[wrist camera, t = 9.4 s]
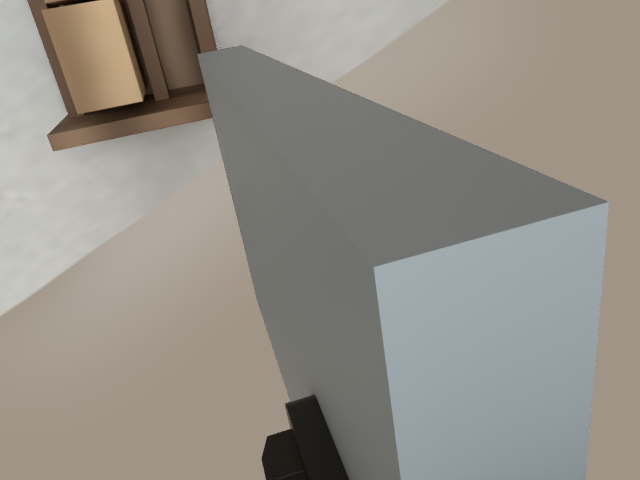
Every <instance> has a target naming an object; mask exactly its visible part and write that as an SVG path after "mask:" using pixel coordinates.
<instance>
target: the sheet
mask: <svg viewBox="0 0 640 480" xmlns="http://www.w3.org/2000/svg"><path fill="white" fill-rule="evenodd" d="M197 55H198V59H199V63H200V68H201V72H202V76H203V80H204V84H205V88H206V92H207V96H208V100H209V104H210V109H211V113H212V117H213V121H214V125H215V129H216V133H217V137H218V141H219V146H220V150H221V154H222V158H223V162H224V166H225V170H226V174H227V178H228V182H229V186H230V191H231V195H232V199H233V203H234V207H235V211H236V215H237V219H238V223H239V227H240V232H241V236H242V240H243V244H244V248H245V252H246V256H247V260H248V265H249V269H250V273H251V277H252V281H253V285H254V289H255V293H256V297H257V301H258V305H259V308H260V311H261V314H262V317H263V320H264V323H265V326H266V329H267V332H268V335H269V338H270V341H271V344H272V347H273V350H274V353H275V356H276V360H277V362H278V366H279V368H280V372H281V375H282V378H283V381H284V384H285V387H286V389H287V393H288V396H289V399H290V402H292V401H295V400H298V399H301V398H304V397H307V396H311V395H315V396H316V398H317V400H318V403H319V405H320V408H321V410H322V413H323V415H324V418H325V420H326V423H327V425H328V428H329V430H330V433H331V435H332V438H333V440H334V443H335V445H336V448H337V450H338V453H339V455H340V457H341V460H342V462H343V465H344V467H345V470H346V472H347V475H348V477H349V480H585V477H586V476H585V475H586V465H587V452H588V441H589V430H590V417H591V406H592V394H593V383H594V371H595V360H596V348H597V336H598V325H599V313H600V301H601V288H602V278H603V266H604V254H605V242H606V231H607V220H608V208H609V202H608V201H605V200H603V199H601V198H598V197H596V196H594V195H591V194H589V193H587V192H584V191H582V190H580V189H577V188H575V187H572V186H570V185H568V184H565V183H563V182H560V181H558V180H556V179H554V178H551V177H549V176H547V175H544V174H542V173H539V172H537V171H535V170H532V169H530V168H528V167H526V166H523V165H521V164H518V163H516V162H514V161H511V160H509V159H507V158H504V157H502V156H500V155H497V154H495V153H493V152H490V151H488V150H486V149H483V148H481V147H479V146H476V145H474V144H472V143H469V142H467V141H464V140H462V139H460V138H457V137H455V136H453V135H450V134H448V133H446V132H443V131H441V130H439V129H436V128H434V127H431V126H429V125H427V124H425V123H422V122H420V121H417V120H415V119H413V118H410V117H408V116H406V115H403V114H401V113H399V112H396V111H394V110H391V109H389V108H387V107H385V106H382V105H380V104H377V103H375V102H373V101H371V100H368V99H366V98H364V97H361V96H359V95H356V94H354V93H352V92H349V91H347V90H345V89H342V88H340V87H338V86H335V85H333V84H331V83H328V82H326V81H324V80H321V79H319V78H317V77H314V76H312V75H310V74H307V73H305V72H302V71H300V70H298V69H295V68H293V67H291V66H288V65H286V64H284V63H281V62H279V61H277V60H274V59H272V58H270V57H267V56H265V55H263V54H260V53H258V52H256V51H253V50H251V49H248V48H246V47H244V46H237V47H232V48H226V49H221V50H216V51H211V52H205V53H200V54H197Z"/></svg>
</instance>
